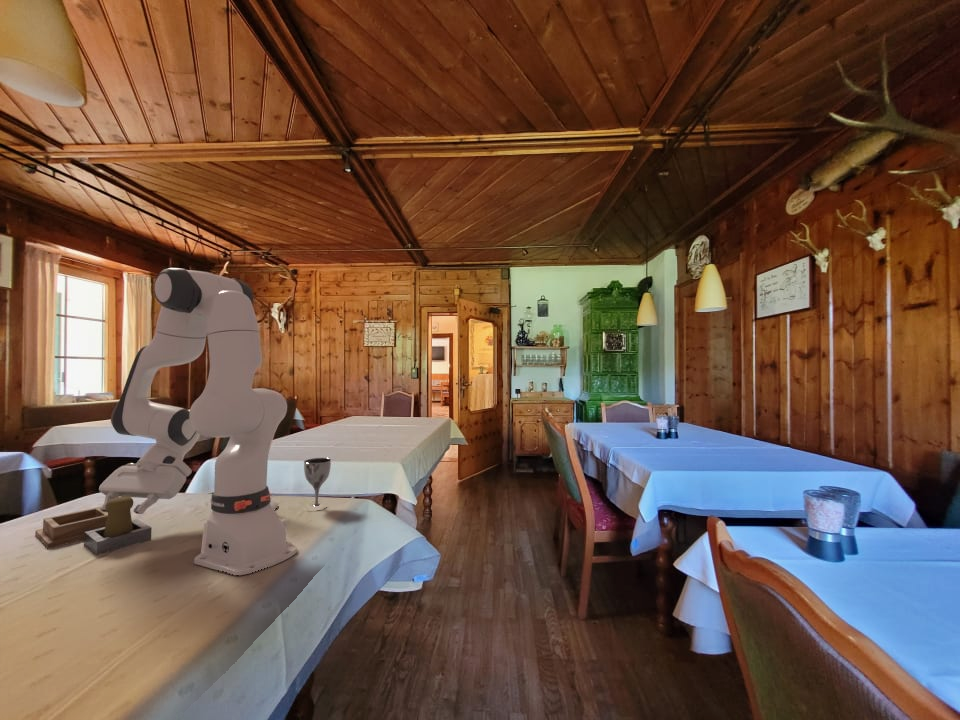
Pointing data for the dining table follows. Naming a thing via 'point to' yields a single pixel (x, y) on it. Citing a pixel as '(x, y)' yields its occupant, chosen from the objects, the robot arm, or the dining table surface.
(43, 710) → the dining table surface
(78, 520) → the walnut rack
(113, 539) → the socket block
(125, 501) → the cork
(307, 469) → the wine glass
